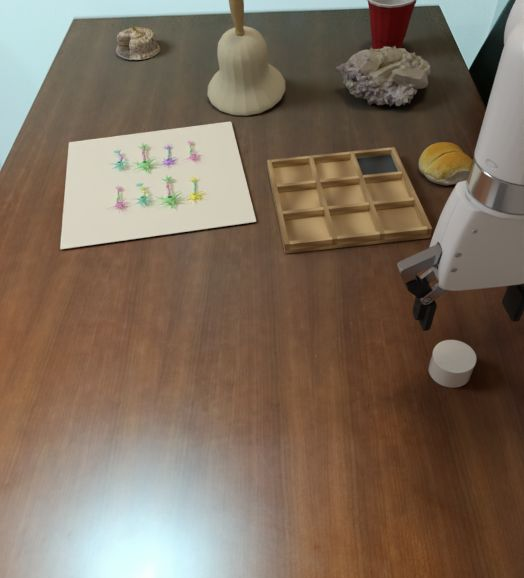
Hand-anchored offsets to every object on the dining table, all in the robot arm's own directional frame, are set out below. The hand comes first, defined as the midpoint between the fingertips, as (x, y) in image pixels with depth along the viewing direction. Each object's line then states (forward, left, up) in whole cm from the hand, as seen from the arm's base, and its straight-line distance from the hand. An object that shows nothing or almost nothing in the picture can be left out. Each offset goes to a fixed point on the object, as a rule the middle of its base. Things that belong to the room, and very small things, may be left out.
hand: (466, 316), depth 63 cm
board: (+6, -35, -10) cm, 37 cm away
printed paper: (+36, -46, -10) cm, 59 cm away
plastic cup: (-13, -84, -10) cm, 86 cm away
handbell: (+18, -71, -10) cm, 74 cm away
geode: (-8, -66, -10) cm, 68 cm away
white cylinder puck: (0, 0, -10) cm, 10 cm away
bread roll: (-12, -40, -10) cm, 43 cm away
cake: (+40, -96, -10) cm, 105 cm away
